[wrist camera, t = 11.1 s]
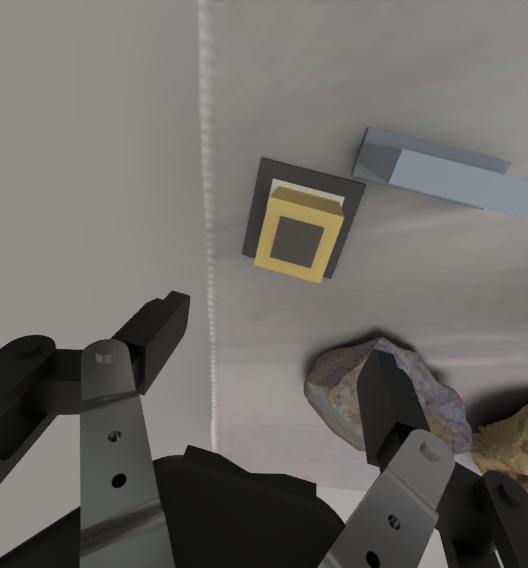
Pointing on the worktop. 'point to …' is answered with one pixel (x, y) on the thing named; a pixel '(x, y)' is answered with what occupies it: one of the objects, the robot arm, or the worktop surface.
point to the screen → (441, 172)
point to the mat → (306, 182)
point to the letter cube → (298, 233)
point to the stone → (344, 401)
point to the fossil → (504, 447)
